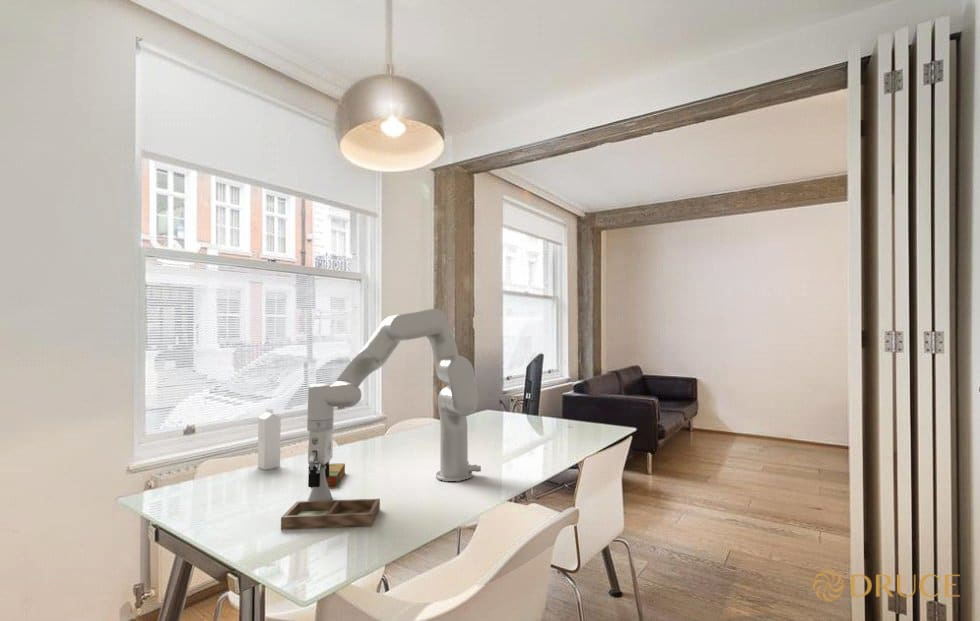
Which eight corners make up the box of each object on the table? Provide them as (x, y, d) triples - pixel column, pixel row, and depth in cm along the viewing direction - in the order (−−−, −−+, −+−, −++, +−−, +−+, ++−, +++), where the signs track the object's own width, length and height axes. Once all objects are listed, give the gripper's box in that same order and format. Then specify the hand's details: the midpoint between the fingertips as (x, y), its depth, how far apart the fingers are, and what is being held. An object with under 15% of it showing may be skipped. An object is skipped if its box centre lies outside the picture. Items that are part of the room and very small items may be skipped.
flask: (311, 496, 148) (311, 463, 149) (335, 495, 149) (335, 463, 149) (304, 504, 141) (304, 470, 141) (329, 503, 142) (329, 469, 142)
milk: (264, 470, 179) (264, 410, 180) (257, 467, 183) (258, 409, 184) (280, 466, 183) (280, 408, 184) (273, 464, 187) (274, 407, 188)
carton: (345, 474, 173) (345, 462, 173) (337, 488, 157) (337, 475, 157) (321, 475, 172) (321, 463, 172) (310, 489, 156) (310, 476, 156)
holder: (379, 509, 136) (379, 498, 136) (371, 526, 124) (371, 514, 124) (297, 512, 135) (297, 501, 135) (280, 529, 123) (281, 517, 123)
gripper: (324, 429, 138) (323, 490, 137) (340, 419, 155) (339, 473, 154) (298, 430, 137) (296, 491, 136) (316, 420, 154) (315, 474, 153)
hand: (319, 482), depth 145 cm, fingers open, 9 cm apart
